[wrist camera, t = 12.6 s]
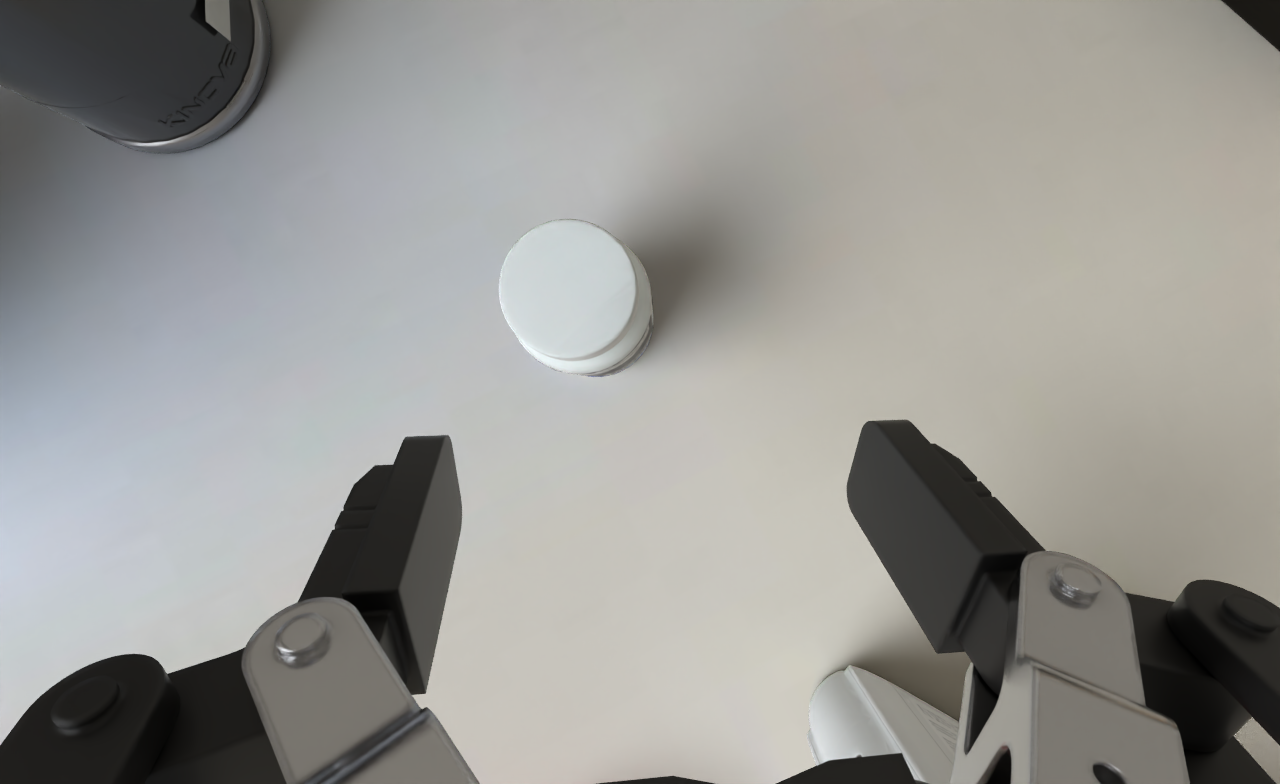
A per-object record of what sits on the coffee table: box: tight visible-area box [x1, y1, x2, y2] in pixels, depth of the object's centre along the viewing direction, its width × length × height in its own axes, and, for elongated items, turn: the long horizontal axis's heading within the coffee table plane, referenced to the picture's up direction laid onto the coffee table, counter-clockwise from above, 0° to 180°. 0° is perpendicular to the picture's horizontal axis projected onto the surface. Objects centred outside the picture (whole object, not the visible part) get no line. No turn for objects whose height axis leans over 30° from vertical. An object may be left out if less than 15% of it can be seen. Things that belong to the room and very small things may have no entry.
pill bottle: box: [499, 219, 653, 377], centre depth 21 cm, size 5×5×8 cm
